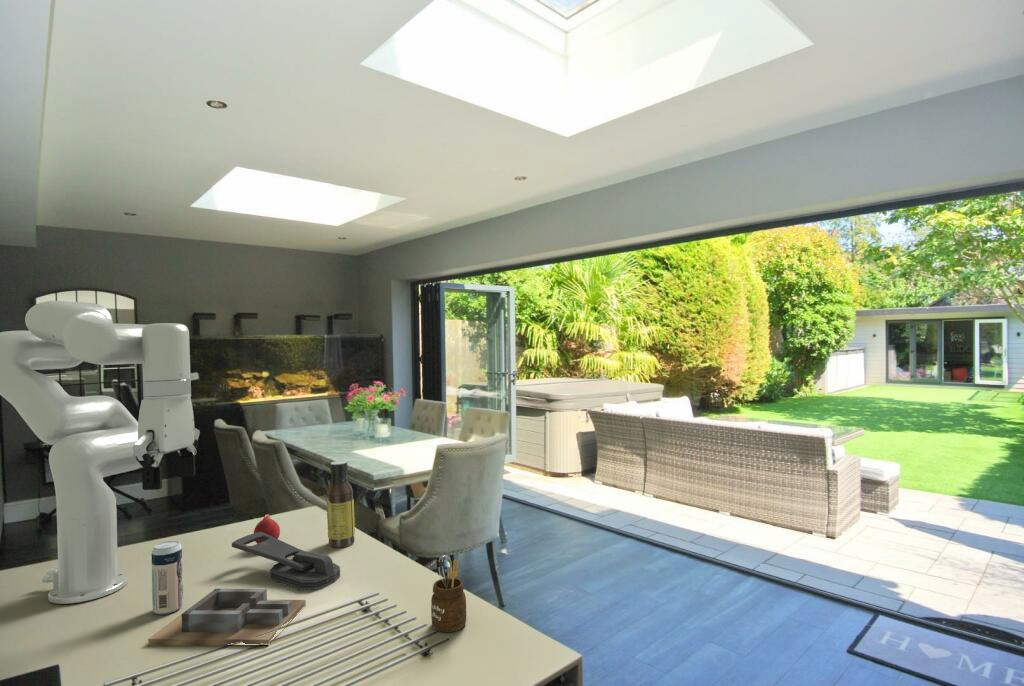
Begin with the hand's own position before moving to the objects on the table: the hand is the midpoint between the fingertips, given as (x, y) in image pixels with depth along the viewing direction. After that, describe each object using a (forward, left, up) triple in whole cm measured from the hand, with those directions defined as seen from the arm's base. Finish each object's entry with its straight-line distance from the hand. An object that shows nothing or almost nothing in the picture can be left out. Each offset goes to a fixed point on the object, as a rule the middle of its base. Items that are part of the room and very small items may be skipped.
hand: (170, 482), depth 104 cm
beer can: (-1, 0, -24) cm, 24 cm away
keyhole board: (+14, -5, -23) cm, 28 cm away
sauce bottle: (+19, +34, -24) cm, 45 cm away
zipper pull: (+14, +16, -24) cm, 32 cm away
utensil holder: (+52, -5, -24) cm, 58 cm away
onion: (+2, +31, -24) cm, 39 cm away
